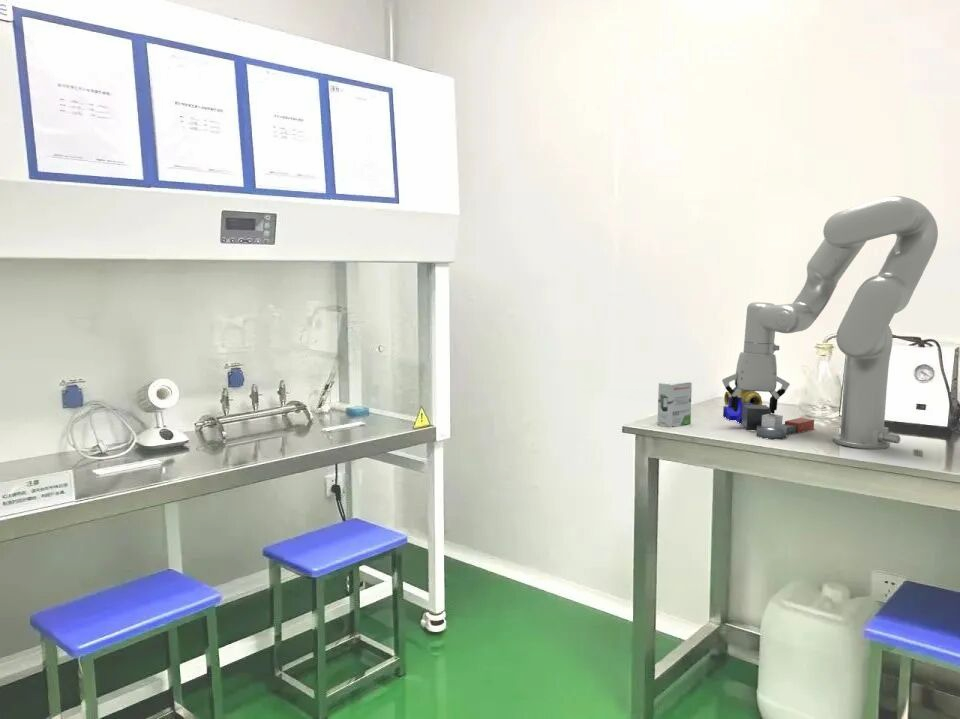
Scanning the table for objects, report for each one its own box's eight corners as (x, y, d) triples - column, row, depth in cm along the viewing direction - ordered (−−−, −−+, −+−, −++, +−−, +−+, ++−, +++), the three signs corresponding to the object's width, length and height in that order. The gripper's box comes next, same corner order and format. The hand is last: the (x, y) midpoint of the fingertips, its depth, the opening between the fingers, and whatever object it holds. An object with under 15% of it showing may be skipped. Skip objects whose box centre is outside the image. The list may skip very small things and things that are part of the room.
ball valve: (766, 411, 233) (768, 379, 232) (732, 411, 233) (734, 378, 232) (750, 404, 246) (752, 373, 244) (718, 404, 245) (720, 373, 244)
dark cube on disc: (764, 426, 210) (765, 405, 209) (769, 431, 204) (771, 409, 203) (741, 425, 211) (742, 404, 210) (746, 430, 205) (747, 408, 204)
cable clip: (723, 417, 224) (723, 396, 223) (738, 417, 224) (739, 397, 223) (736, 425, 212) (737, 404, 212) (752, 425, 212) (753, 404, 212)
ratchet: (776, 440, 193) (777, 419, 192) (750, 435, 198) (751, 414, 198) (819, 430, 206) (821, 410, 205) (794, 425, 211) (795, 406, 211)
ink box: (677, 421, 217) (679, 379, 216) (691, 424, 213) (693, 381, 212) (656, 424, 212) (657, 382, 211) (670, 427, 208) (671, 384, 207)
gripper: (788, 348, 208) (782, 410, 210) (722, 345, 210) (717, 407, 212) (796, 352, 200) (790, 416, 203) (727, 349, 202) (722, 412, 205)
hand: (753, 411), depth 207 cm, fingers open, 9 cm apart
